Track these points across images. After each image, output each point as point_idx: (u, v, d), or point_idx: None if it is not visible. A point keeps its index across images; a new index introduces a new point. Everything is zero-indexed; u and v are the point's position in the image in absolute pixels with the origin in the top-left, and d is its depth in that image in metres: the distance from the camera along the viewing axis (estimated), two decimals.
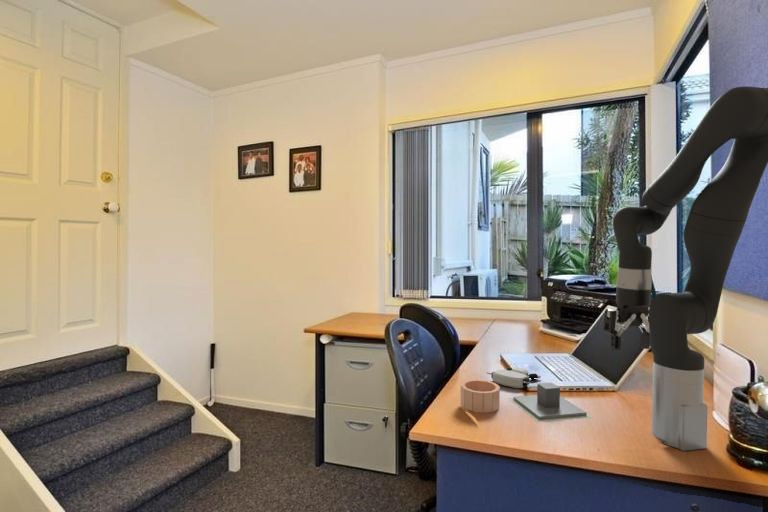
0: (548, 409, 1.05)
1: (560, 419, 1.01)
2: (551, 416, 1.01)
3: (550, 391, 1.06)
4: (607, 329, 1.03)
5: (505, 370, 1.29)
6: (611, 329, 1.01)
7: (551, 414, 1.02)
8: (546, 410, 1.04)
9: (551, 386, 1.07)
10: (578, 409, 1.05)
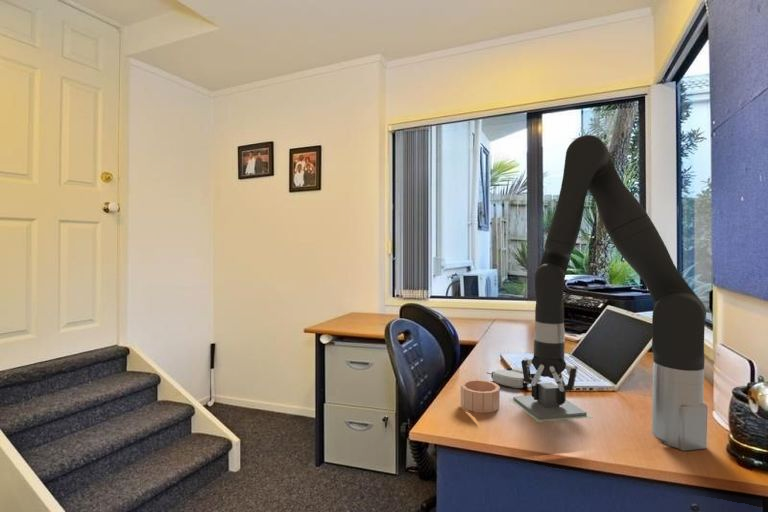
0: (548, 409, 1.05)
1: (560, 419, 1.01)
2: (551, 416, 1.01)
3: (550, 391, 1.06)
4: None
5: (505, 370, 1.29)
6: None
7: (551, 414, 1.02)
8: (546, 410, 1.04)
9: (551, 386, 1.07)
10: (578, 409, 1.05)
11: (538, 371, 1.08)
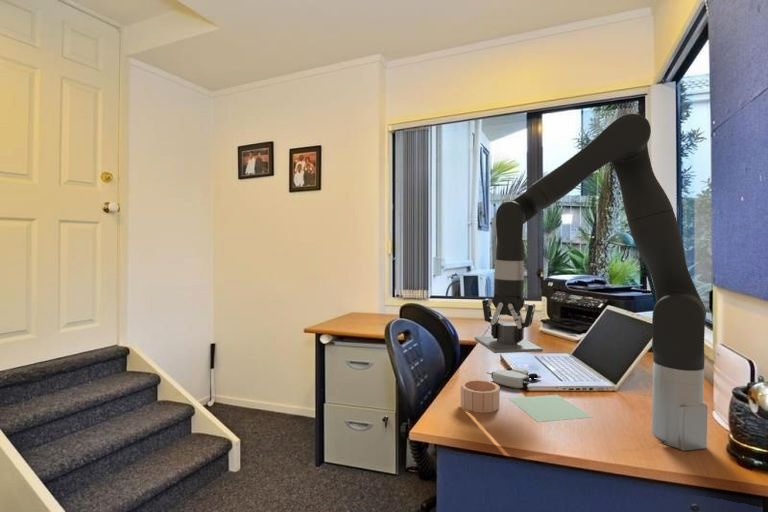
0: (506, 345, 1.06)
1: (560, 419, 1.01)
2: (506, 350, 1.02)
3: (508, 328, 1.07)
4: (529, 323, 1.06)
5: (505, 370, 1.29)
6: None
7: (507, 349, 1.03)
8: (503, 346, 1.06)
9: (510, 324, 1.08)
10: (535, 346, 1.06)
11: (497, 309, 1.09)
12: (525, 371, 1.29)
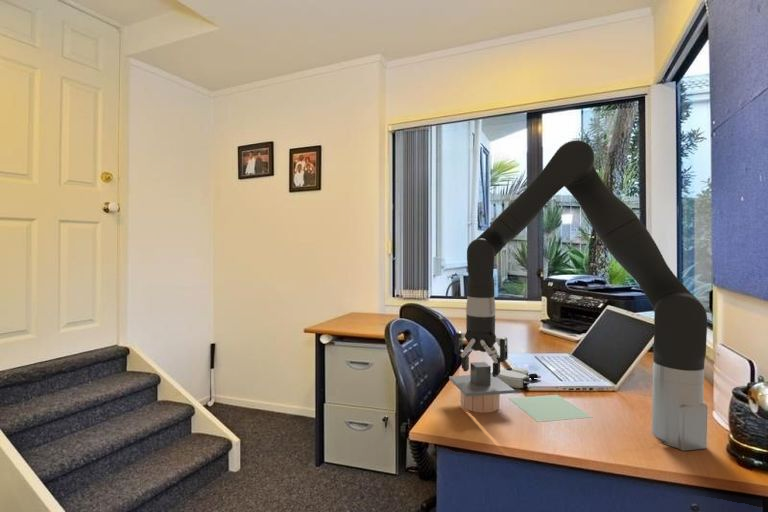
0: (478, 387, 1.07)
1: (560, 419, 1.01)
2: (478, 393, 1.03)
3: (481, 370, 1.08)
4: (505, 357, 1.06)
5: (505, 370, 1.29)
6: None
7: (479, 391, 1.03)
8: (476, 388, 1.06)
9: (483, 365, 1.09)
10: (507, 387, 1.06)
11: (469, 344, 1.09)
12: (525, 371, 1.29)
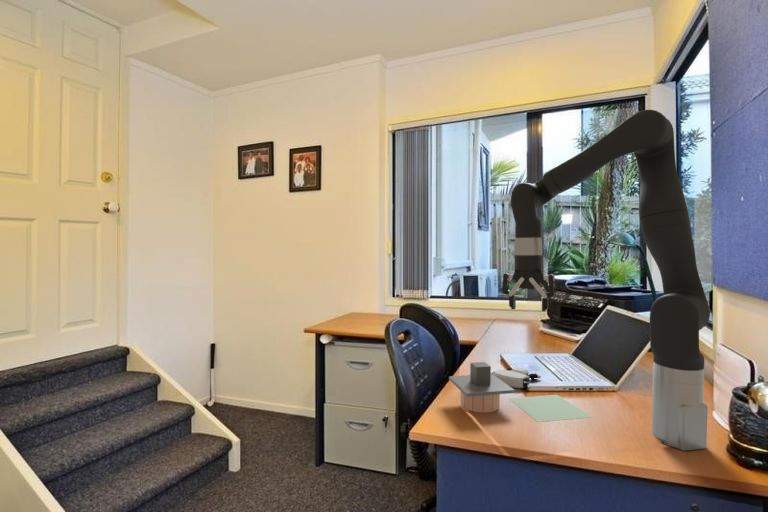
0: (478, 387, 1.07)
1: (560, 419, 1.01)
2: (479, 393, 1.03)
3: (481, 370, 1.08)
4: (554, 292, 1.13)
5: (505, 370, 1.29)
6: None
7: (479, 391, 1.03)
8: (476, 388, 1.06)
9: (483, 365, 1.09)
10: (507, 387, 1.06)
11: (517, 283, 1.17)
12: (525, 371, 1.29)
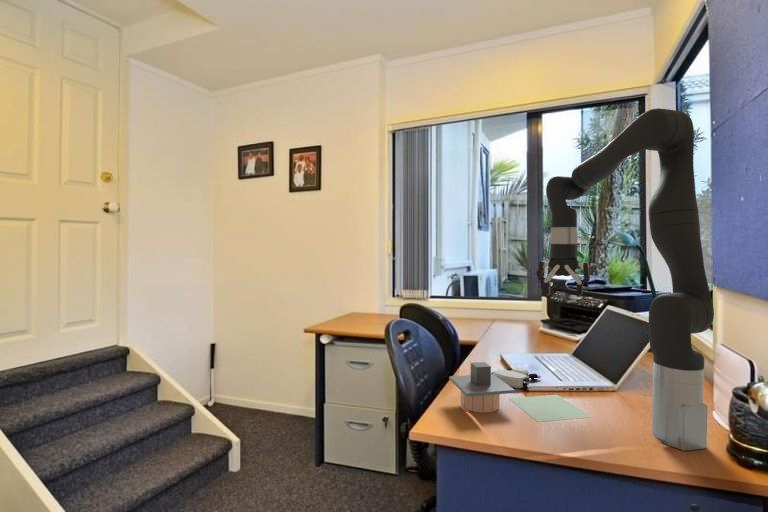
0: (479, 387, 1.07)
1: (560, 419, 1.01)
2: (479, 393, 1.03)
3: (481, 370, 1.08)
4: (588, 279, 1.20)
5: (505, 370, 1.29)
6: None
7: (479, 391, 1.03)
8: (476, 388, 1.06)
9: (483, 365, 1.09)
10: (508, 387, 1.06)
11: (553, 270, 1.24)
12: (525, 371, 1.29)
